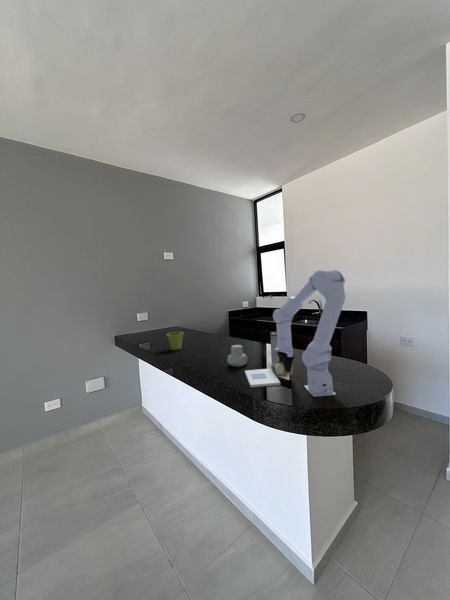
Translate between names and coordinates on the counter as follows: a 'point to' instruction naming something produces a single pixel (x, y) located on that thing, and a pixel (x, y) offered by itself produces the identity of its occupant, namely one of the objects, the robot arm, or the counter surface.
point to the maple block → (284, 370)
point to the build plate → (261, 378)
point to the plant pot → (175, 340)
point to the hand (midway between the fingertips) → (286, 369)
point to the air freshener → (237, 356)
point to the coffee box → (274, 345)
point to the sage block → (277, 368)
